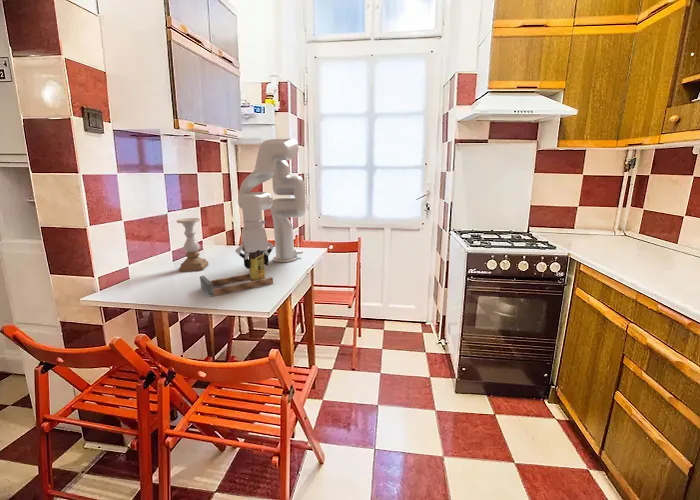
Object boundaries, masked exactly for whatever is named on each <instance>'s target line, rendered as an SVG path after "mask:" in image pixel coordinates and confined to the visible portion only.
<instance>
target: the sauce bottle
mask: <svg viewBox="0 0 700 500" xmlns="http://www.w3.org/2000/svg"><path fill="white" fill-rule="evenodd" d="M248 259H249V266H250V268H249V273H250V279H251V280H250V281H255V280H260V279H265V278H266V271H265V270H266V269H265V267H266V265H265V264H264V253H263V251H260V250H257V251H256V252H252V253H250V254H249V256H248Z"/></svg>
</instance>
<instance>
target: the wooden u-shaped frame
mask: <svg viewBox="0 0 700 500" xmlns="http://www.w3.org/2000/svg"><path fill="white" fill-rule="evenodd" d="M199 281H200V289H202V291H203V292H204V293H205V294H206V295H207V296H208V297H209V298H211V297H216V296H217V297H218V296H222V295H226V294H231V293H235V292H241V291H244V290H249V289H254V288H258V287H259V288H260V287H264V286H268V285H273V284H274V278H273V277H272V276H270V277H265V279H260V280H255V281H251V279H250V272H249V273H244V274H239V275H232V276H229V277H223V278H217V279H213V280H209V279H208V278H207V277H206V276H205V275H201V276H200V275H199ZM239 282H241V283H239ZM235 283H236V284H235ZM229 284H230V285H229Z"/></svg>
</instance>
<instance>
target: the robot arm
mask: <svg viewBox="0 0 700 500" xmlns="http://www.w3.org/2000/svg"><path fill="white" fill-rule="evenodd" d="M298 153H299V144H298V141H297V140H296V139H294V138H271V139H266V140H264V141H263V142H262V143H261V144H260V145H259V147H258V152H257V155H256V160H255V165H254V170H253V171H252V172H250V173H249V174H248V175H247V176H246V177H245V179H243V181H242V182H241V184H240V188H239V192H238V196H237V203H238V206H239V208H240V209H241V210H242V220H243V228H242V229H241V235H240V236H241V238H240V242H241V243H240V245H239V246H238V247H237V248H236V249H235V253H236V254H237V255H238V256H239V257H240V258H242V259H243V266H244V267H245V268H246V269H249V268H250V266H249V254H250V253H252V252H256V251H257V250H260V251H263V254H264V266H268V265H269V262H270V261H269V260H270V259H269V256H270V254H271V253H272V251H273V249H275V256H274V257H273V258H272V260H273V261H274V262H277V263H288V262H293V261H297V260H298V255H301V254H302V255H303V253H304V251H303V249H300V250H299V249H295V242H294V228H293V223H292V222H291V220H290V219H289V218H303V217H304V216H305V214H306V186H305V180H304V179H303V177H302V176H300V175H290V165H289V163H288V161H291V160H292V159H294V158H296V157H297V156H298ZM269 180H272V183H271V184H272V191H273V194H275V195H277V196H294V198H292V197H290V198H289V197H285V198H284V197H283V198H273V196H272V195H271V194H270V193H269V192H264V191H263V192H262V191H261V192H260V191H259V192H258V191H252V190H253V189H254V188H255V187H257V186H258V185H261V184H264V183H265V182H268V181H269ZM267 210H270V213H271V217H272V222H273V235H274V237H273V238H274V244H273V243H272V242H270V241H268V236H267V233H266V232H267V231H266V229H265V226H264V225H266V224H267V223H266V222H267V221H266V220H264V219H263V212H262V211H267ZM241 251H242V252H244V253H242V252H241Z"/></svg>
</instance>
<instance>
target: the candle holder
mask: <svg viewBox="0 0 700 500" xmlns="http://www.w3.org/2000/svg"><path fill="white" fill-rule="evenodd" d="M198 222H200V218H199V217H198V218H197V217H193V218H192V217H190V218H189V217H188V218H181V219H177V220H176V223H177V224H182V226H183V227H184V229H185V230H184V233H183V234H184V235H185V237H186V240H185V242H184V244H183V246H182V247H183V250H184V251H185V252H186V253H185V256H186V259H184V261H183V262H181V264H180V266H179V267H178V269H179V272H181V273H182V272H200V271H204V270H205V269H206V268H207V267H208V266H209V261H208V260H207V259H206V258H203V257H200V252H199V250H200V249H201V246H200V243H199V242H198V240H196V238H195V236H196V231H195V230H194V229H195V228H194V226H195V225H196V224H195V223H198Z"/></svg>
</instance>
